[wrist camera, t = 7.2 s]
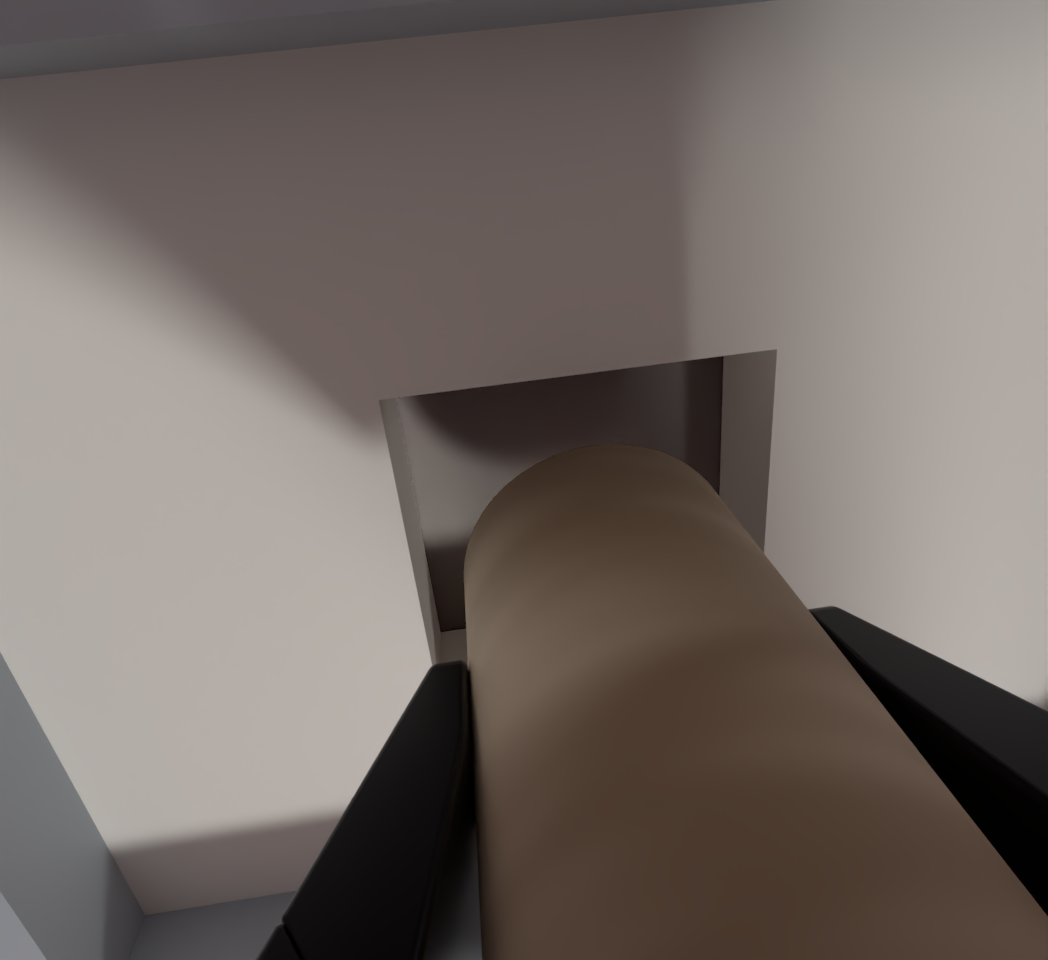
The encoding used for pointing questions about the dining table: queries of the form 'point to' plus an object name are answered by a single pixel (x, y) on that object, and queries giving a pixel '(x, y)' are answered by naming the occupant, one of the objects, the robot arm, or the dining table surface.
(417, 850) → the robot arm
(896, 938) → the peg
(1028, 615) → the grey square-hole tray
